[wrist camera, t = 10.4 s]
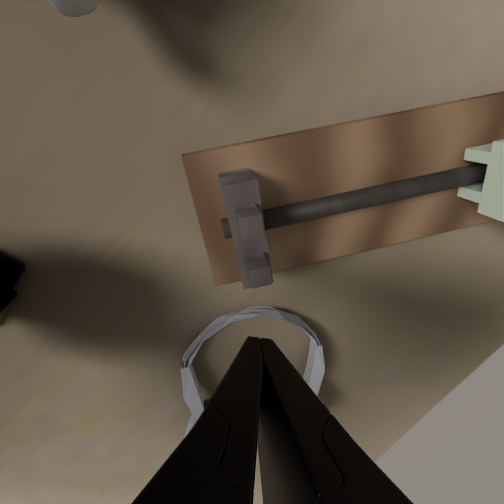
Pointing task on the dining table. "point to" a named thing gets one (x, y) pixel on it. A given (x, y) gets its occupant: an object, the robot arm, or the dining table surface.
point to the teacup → (74, 7)
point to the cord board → (339, 187)
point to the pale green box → (487, 180)
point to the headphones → (189, 380)
